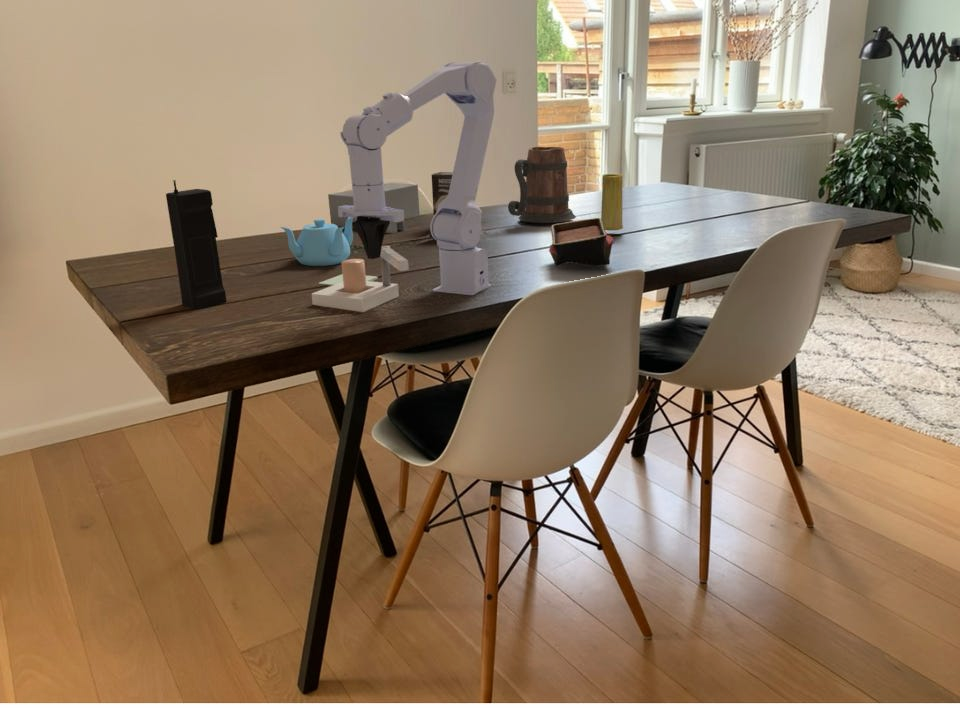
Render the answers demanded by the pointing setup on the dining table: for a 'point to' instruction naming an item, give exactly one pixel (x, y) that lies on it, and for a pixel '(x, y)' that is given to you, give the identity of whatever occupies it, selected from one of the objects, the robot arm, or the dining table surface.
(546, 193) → the tankard
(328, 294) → the socket block
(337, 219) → the grey stepped box
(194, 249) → the portable radio
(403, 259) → the grey long bar
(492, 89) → the robot arm
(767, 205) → the dining table surface
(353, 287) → the plug
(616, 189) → the vase
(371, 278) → the mat
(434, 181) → the coffee box
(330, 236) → the teapot
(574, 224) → the rectangular planter pot
